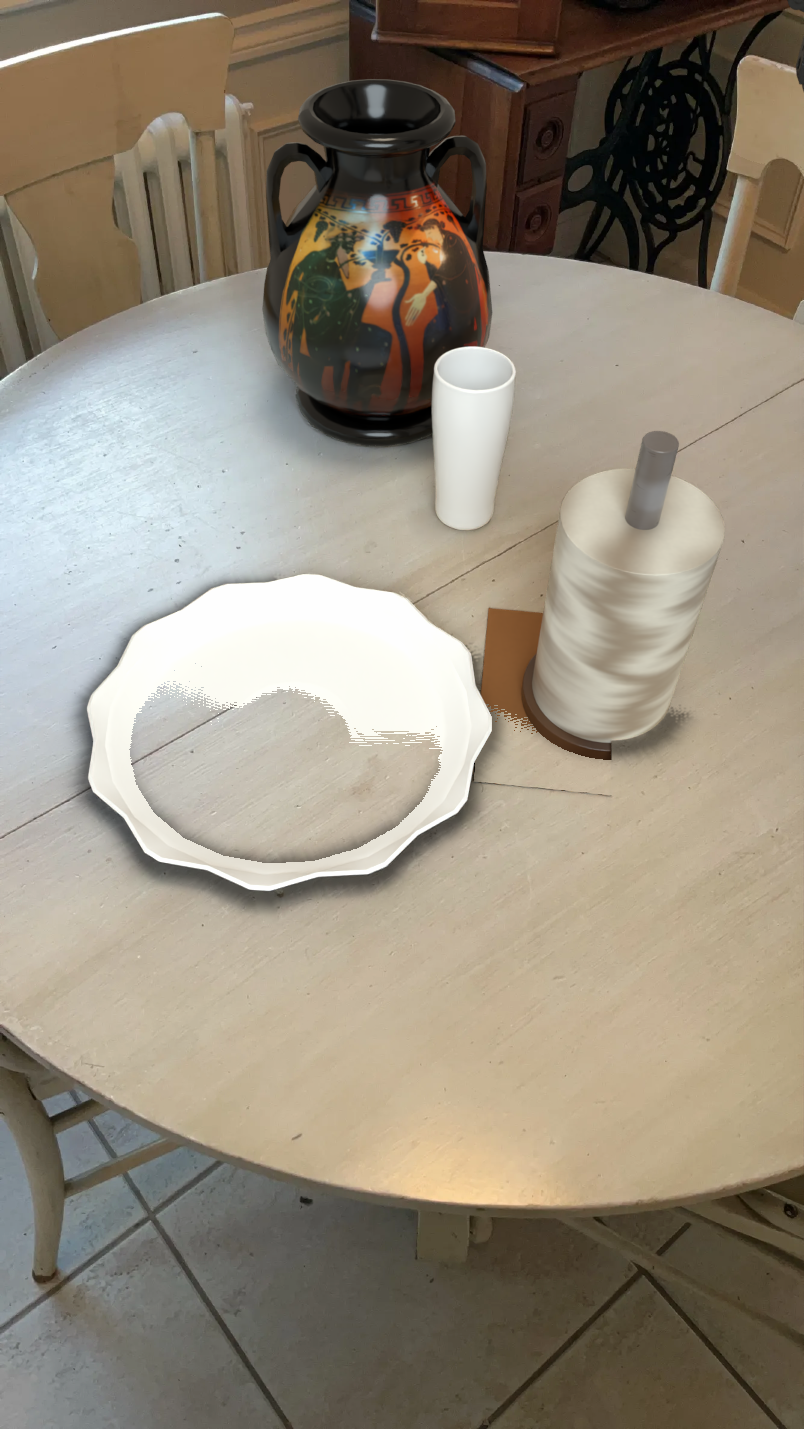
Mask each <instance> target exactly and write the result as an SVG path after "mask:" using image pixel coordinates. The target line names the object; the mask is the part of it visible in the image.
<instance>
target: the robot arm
mask: <svg viewBox="0 0 804 1429" xmlns="http://www.w3.org/2000/svg"><path fill="white" fill-rule="evenodd" d="M786 1H787V4H788V6H789V8H790V9H791V10H794V11H800V12H801V13H804V0H786ZM795 74H796V78H797V81H798V85H799V86H800V85H801V88H802V91H803V92H804V36H803V37H802V40H801V45H800V48H799V52H798V55H797V59H796V62H795Z"/></svg>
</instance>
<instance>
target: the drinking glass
mask: <svg viewBox="0 0 804 1429" xmlns="http://www.w3.org/2000/svg"><path fill="white" fill-rule="evenodd" d="M516 376H517V370H516V365H515V363H514V362H513V360H511V359H510V358H509V357H508V356H507V355H505V354H504V353H502V352H501V351H498V350H495V349H492V348H489V347H485V348H484V347H461V348H456V349H453V350H450V351H448V352H446V353H444V354H443V355H442V356H440V357H439V358H438V360H437V361H436V363H435V366H434V375H433V385H432V449H433V463H434V464H433V466H434V467H433V468H434V488H435V500H434V511H435V514H436V516H437V518H438V520H439V521H440V522H441V523H442V524H444V525H445V526H447V527H449V528H451V529H454V530H458V531H473V530H477V529H480V528H482V527H484V526H485V525H487V524H488V523H489V522H490V521H491V519H492V517H493V515H494V511H495V504H496V503H495V502H496V495H497V491H498V485H499V480H500V476H501V471H502V466H503V461H504V457H505V452H506V446H507V444H508V437H509V434H510V428H511V423H512V417H513V410H514V403H515V394H516V378H517V377H516Z"/></svg>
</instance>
